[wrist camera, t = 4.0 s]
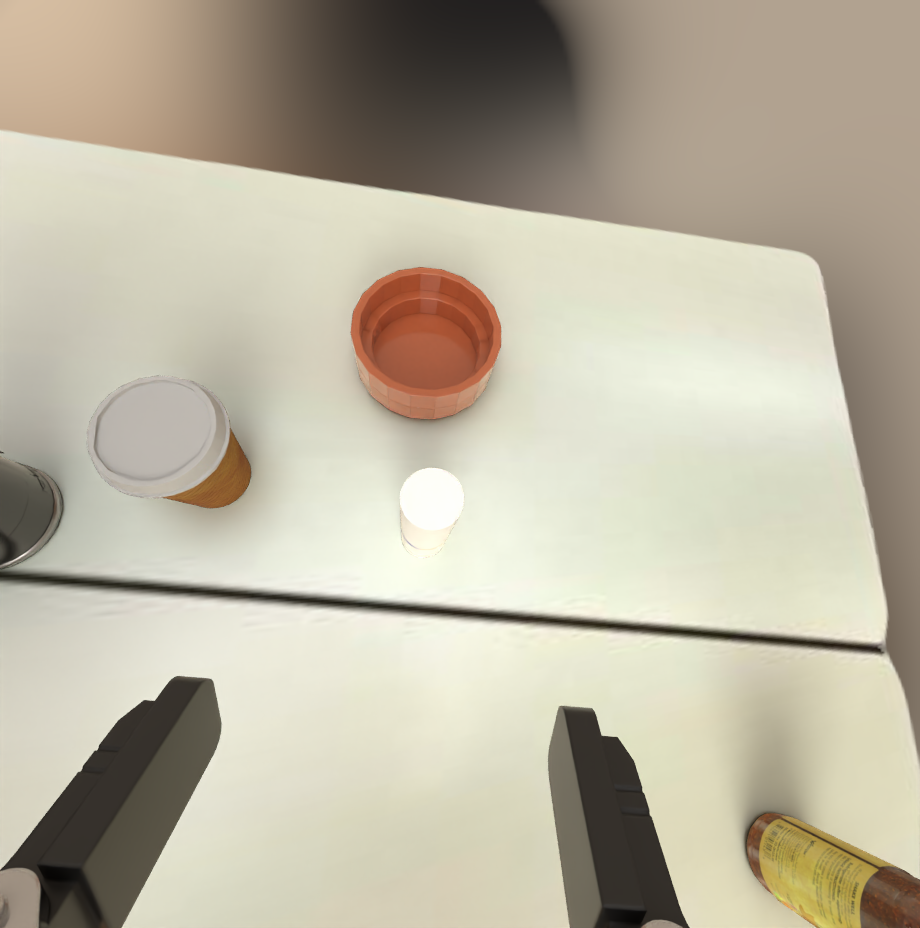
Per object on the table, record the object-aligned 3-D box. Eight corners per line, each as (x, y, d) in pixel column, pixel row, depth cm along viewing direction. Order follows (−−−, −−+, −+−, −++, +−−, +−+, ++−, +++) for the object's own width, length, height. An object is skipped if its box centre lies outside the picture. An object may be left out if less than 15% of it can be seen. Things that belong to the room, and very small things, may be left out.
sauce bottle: (754, 902, 39) (1085, 1172, 20) (732, 814, 41) (1017, 985, 22) (823, 886, 40) (1201, 1128, 21) (798, 801, 41) (1125, 953, 23)
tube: (449, 518, 46) (469, 474, 32) (441, 561, 44) (458, 536, 30) (406, 509, 46) (407, 462, 31) (397, 553, 44) (393, 523, 30)
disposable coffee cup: (200, 415, 46) (134, 350, 35) (287, 454, 46) (248, 401, 35) (141, 500, 43) (47, 459, 32) (234, 542, 43) (173, 515, 31)
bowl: (435, 448, 48) (439, 426, 42) (328, 365, 49) (318, 333, 44) (515, 356, 52) (529, 324, 47) (415, 282, 54) (417, 243, 48)
